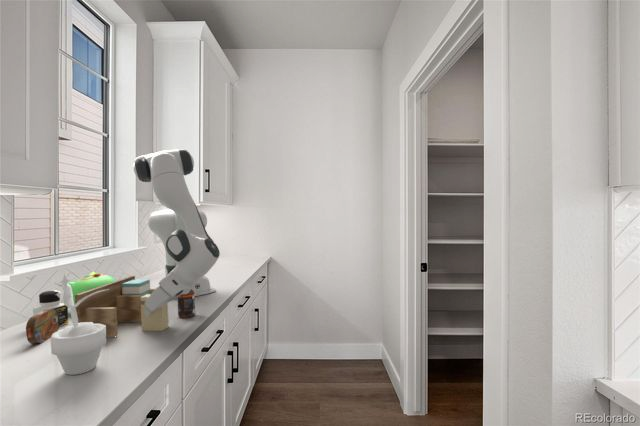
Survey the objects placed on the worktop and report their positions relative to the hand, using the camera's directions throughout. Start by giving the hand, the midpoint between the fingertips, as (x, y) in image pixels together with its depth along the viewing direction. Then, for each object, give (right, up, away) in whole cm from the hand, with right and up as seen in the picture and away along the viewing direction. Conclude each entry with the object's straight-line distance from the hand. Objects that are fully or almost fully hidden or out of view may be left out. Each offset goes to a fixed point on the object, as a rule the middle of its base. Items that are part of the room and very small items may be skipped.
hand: (152, 310), depth 121 cm
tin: (-31, -7, -7) cm, 32 cm away
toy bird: (-35, -6, +26) cm, 44 cm away
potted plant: (-4, -7, -30) cm, 31 cm away
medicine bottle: (-38, -7, +6) cm, 39 cm away
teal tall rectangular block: (-12, -6, +14) cm, 20 cm away
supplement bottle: (+6, -6, +14) cm, 16 cm away
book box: (+1, -6, 0) cm, 6 cm away
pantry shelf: (-13, -6, +5) cm, 15 cm away
